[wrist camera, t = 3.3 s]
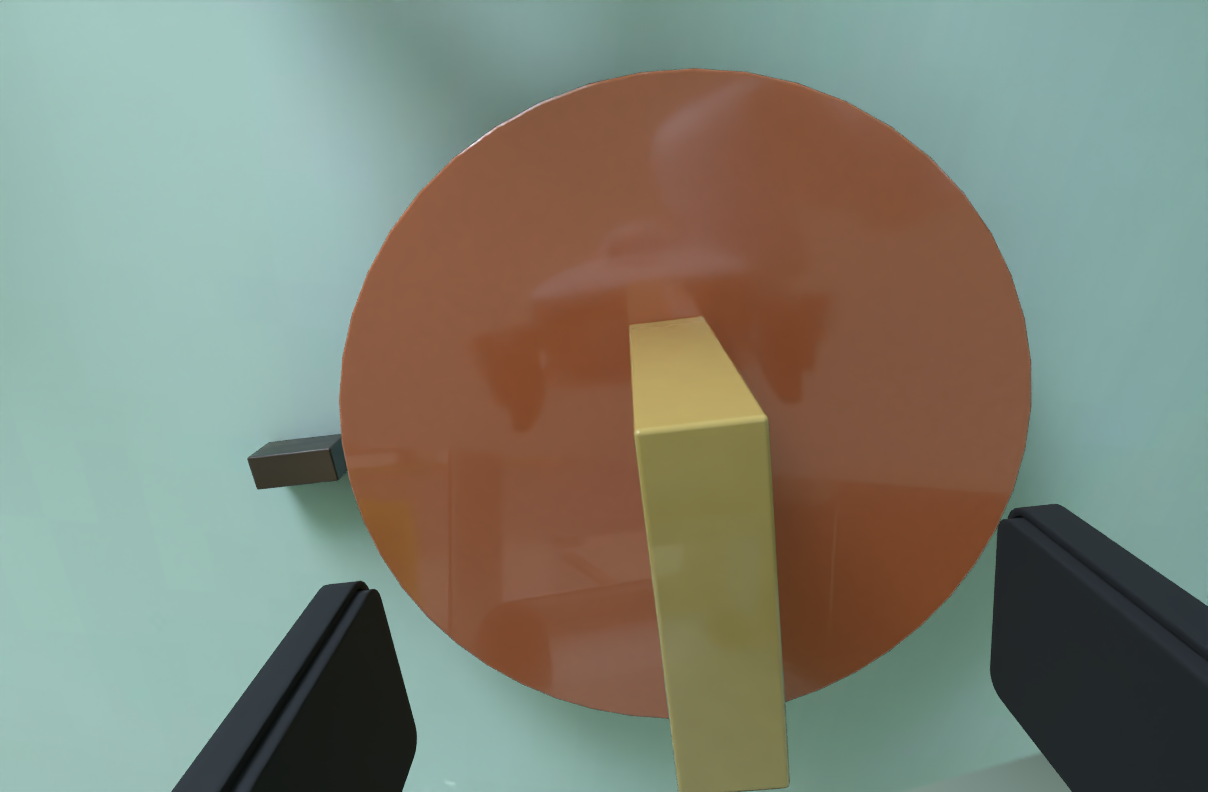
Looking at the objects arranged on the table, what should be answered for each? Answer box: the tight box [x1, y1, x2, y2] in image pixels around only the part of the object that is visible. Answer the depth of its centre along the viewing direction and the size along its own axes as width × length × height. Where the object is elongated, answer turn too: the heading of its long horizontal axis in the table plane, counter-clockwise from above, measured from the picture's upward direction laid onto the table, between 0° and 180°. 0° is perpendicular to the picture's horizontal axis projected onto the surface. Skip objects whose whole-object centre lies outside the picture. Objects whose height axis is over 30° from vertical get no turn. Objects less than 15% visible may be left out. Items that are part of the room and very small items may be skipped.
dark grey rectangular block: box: [248, 434, 347, 489], centre depth 18 cm, size 17×10×2 cm, turn 97°
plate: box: [339, 68, 1031, 792], centre depth 13 cm, size 17×17×8 cm
